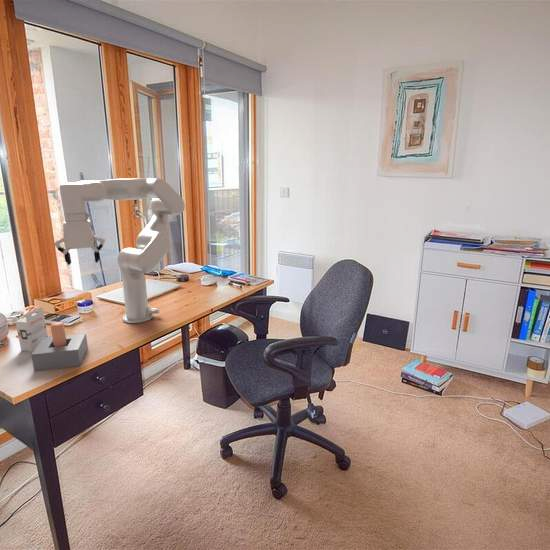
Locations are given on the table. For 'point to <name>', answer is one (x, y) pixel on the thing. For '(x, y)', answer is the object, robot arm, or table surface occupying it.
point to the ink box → (31, 330)
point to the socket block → (60, 353)
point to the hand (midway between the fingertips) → (83, 262)
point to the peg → (58, 334)
